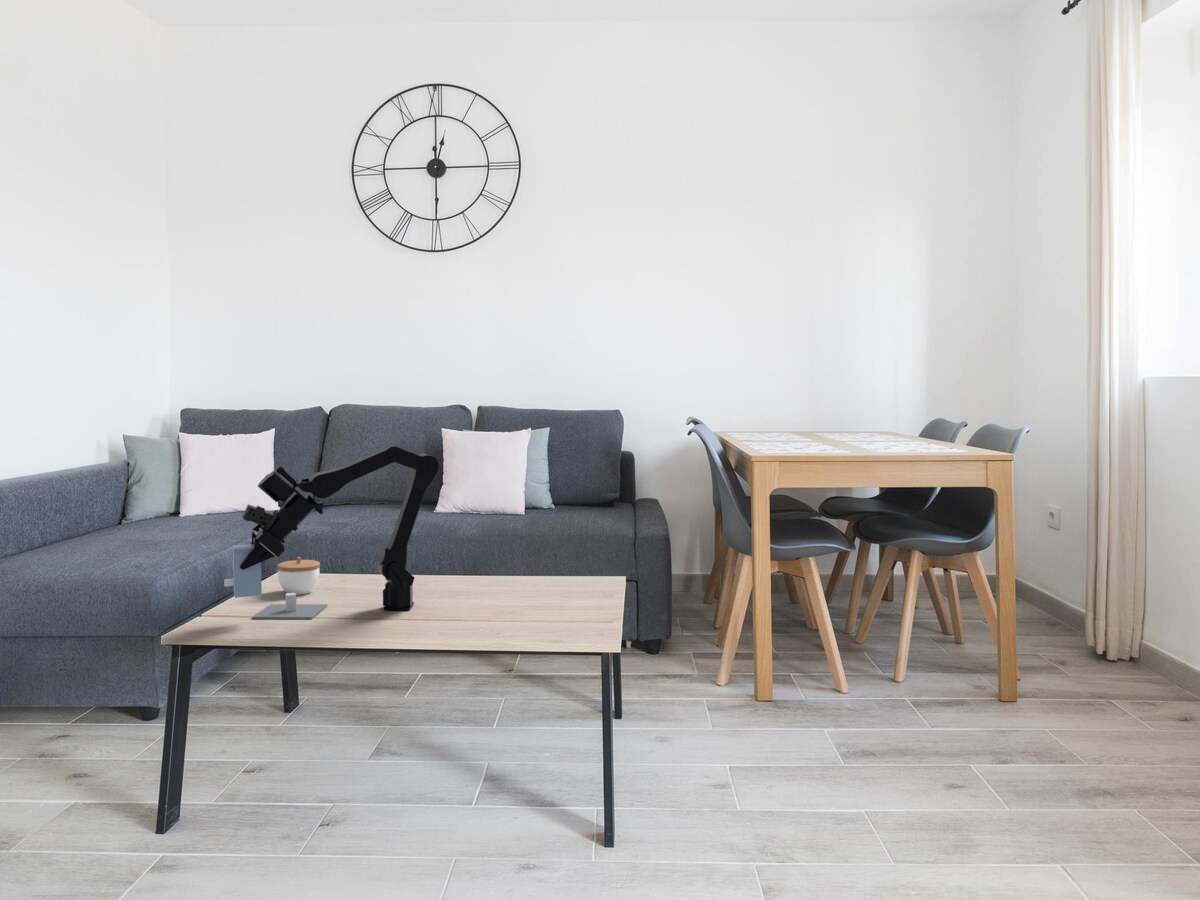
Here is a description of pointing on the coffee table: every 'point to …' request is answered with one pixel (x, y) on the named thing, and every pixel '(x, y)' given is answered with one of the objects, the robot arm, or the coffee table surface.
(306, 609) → the flat square base plate
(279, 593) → the coffee table surface
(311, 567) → the lidded jar
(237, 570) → the tall blue rectangular block
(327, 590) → the coffee table surface
